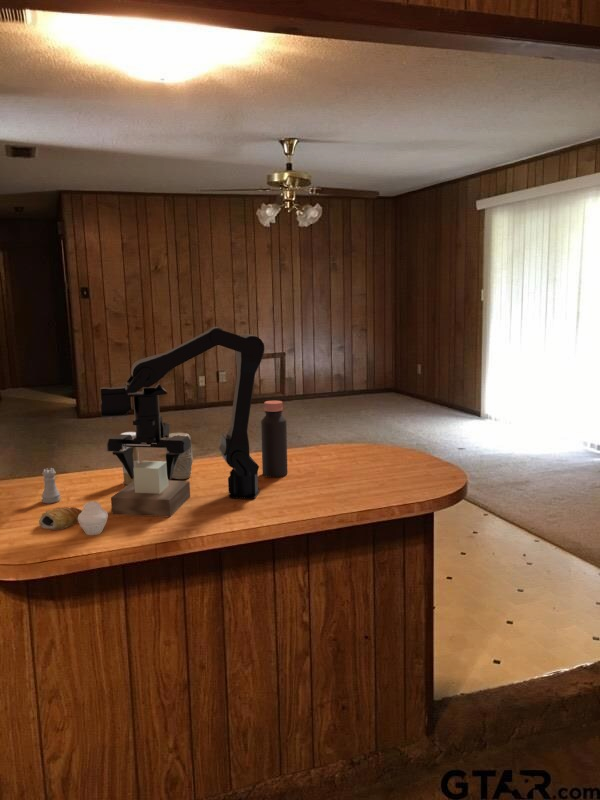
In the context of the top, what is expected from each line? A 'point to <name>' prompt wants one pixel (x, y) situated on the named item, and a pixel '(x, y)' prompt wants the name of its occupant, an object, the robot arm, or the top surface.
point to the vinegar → (274, 440)
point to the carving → (182, 460)
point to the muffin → (92, 518)
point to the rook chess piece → (50, 487)
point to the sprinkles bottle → (135, 460)
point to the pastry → (59, 518)
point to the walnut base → (151, 500)
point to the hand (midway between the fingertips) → (151, 478)
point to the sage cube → (150, 477)
